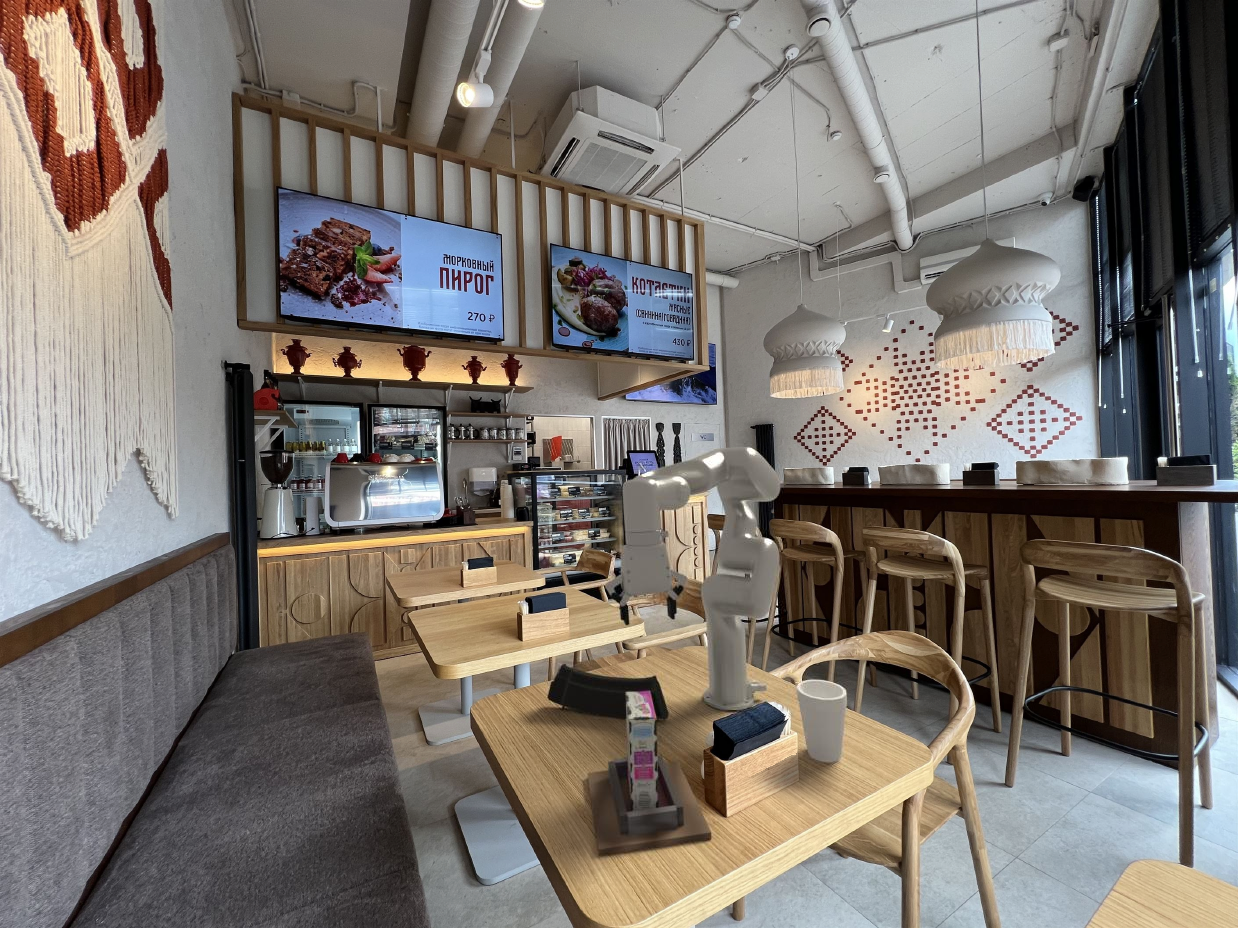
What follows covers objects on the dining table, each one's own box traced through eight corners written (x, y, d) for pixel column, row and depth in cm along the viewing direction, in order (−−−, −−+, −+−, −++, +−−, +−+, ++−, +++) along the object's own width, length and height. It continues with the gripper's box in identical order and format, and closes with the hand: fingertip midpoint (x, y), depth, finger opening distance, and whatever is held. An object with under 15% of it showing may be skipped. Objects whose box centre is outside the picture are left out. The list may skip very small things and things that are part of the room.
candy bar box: (661, 816, 84) (657, 717, 84) (631, 818, 83) (627, 719, 84) (654, 776, 95) (650, 688, 95) (627, 777, 95) (624, 690, 95)
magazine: (677, 681, 118) (565, 636, 128) (674, 687, 115) (560, 640, 124) (660, 748, 119) (550, 698, 129) (656, 756, 116) (544, 704, 126)
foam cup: (792, 742, 106) (789, 681, 106) (833, 739, 107) (831, 677, 107) (813, 769, 97) (810, 701, 97) (859, 764, 98) (856, 697, 98)
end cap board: (678, 766, 99) (677, 745, 99) (711, 838, 80) (710, 813, 80) (587, 778, 97) (586, 757, 97) (598, 855, 77) (597, 829, 77)
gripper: (678, 532, 109) (683, 610, 109) (600, 539, 106) (605, 619, 106) (689, 537, 102) (694, 621, 102) (605, 545, 99) (610, 631, 99)
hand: (649, 620), depth 104 cm, fingers open, 9 cm apart
